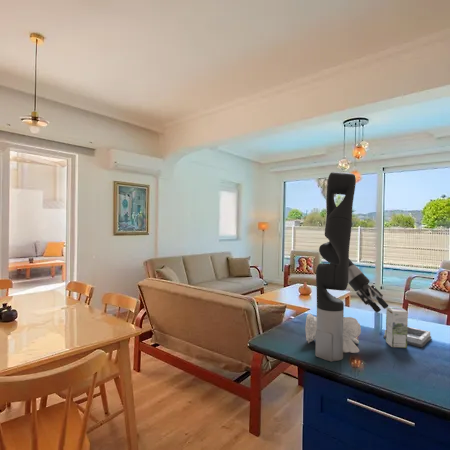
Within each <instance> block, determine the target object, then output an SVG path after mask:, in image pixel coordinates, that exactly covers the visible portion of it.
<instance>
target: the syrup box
mask: <svg viewBox="0 0 450 450" xmlns="http://www.w3.org/2000/svg"><path fill="white" fill-rule="evenodd" d="M385 313H386V317H385V330H386V338H385V343H387V344H388V346H390V347H391V348H394V349H395V348H398V349H407V348H408V344H407V327H409V326H408V324H409V322H408V319H409V312H408V311H407V310H406V309H405V308H402V307H391V306H390V307H389V306H388V307H387V308H386V309H385Z"/></svg>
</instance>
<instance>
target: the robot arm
mask: <svg viewBox="0 0 450 450" xmlns="http://www.w3.org/2000/svg"><path fill="white" fill-rule="evenodd" d="M356 180H357V179H356V175H355V174H354V173H350V172H338V171H336V172H335V171H332V172H330V173H329V175H328V178H327V185H326V216H325V220H326V221H325V226H324V236H325V238H326V239H328V241H327V242H324V243H322V244H320V246H319V248H318V250H319V254H320V256H321V258H322V259H323V260H325V261H326V262H328V263H326V262H325V263H324V262H323V263H322V262H321V263H319V264H318V265H317V267H316V269H315V282H316V283H315V284H316V285H315V286H316V317H317V330H316V339H315V350H314V351H315V357H317V358H319V359H322V360H325V361H327V362H336V361H341V360H343V359H344V352H343V319H344V317H345V314H344V307H345V305H344V304H345V303H344V301H343V300H342V299H341V298H338V297H336V296H333V295H332V294H331V293H330V292H329V291H328V290H332V291H341V292H342V291H345V290H347V287H348V285H349V286H350V287H351V288H352V290H353V291H355V292H356V293H355V294H356V295H357V296H358V297H359V298H360V300H361V301H362V302H363V304H364V305H368V306H370V308H371V309H372V310H373V311H374V312H375V313H377V314H378V313H379V312H380V311H381V310H382V309H381V308H380V307H379V305H380V306H381V307H382V308H383V309H384V310H386V308H387V307H389V304H388V303H387V302H386V301H385V300H384V298H383V297H384V296H383V293H382V292H380V290H378V289H377V287H376V286H375V285H373V284H372V285H371V286H370V285H369V283H370V279H368V277H367V276H366V275H365V274H364V272H363V271H361V269H360V268H359V267H358V266H357V265H355V263H354V262H353V261H352V260H351V259H350V245H351V236H352V235H351V234H352V224H353V205H354V203H353V202H354V198H355V197H354V196H355V191H356V182H357V181H356ZM335 195H341V196H344V197H343V199H342V200H341V202H340V203H339V204H338V205H336V202H335V201H336V200H335ZM374 300H375V301H377V302H378V304H379V305H377V303H376V302H375V301H374Z"/></svg>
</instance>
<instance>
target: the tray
mask: <svg viewBox="0 0 450 450" xmlns="http://www.w3.org/2000/svg"><path fill="white" fill-rule="evenodd" d="M383 339H386V329H385V330H384V334H383ZM431 340H432V336H431V331H429V330H424V329H421V328H415V327H410V326H407V345H411V346H413V347H418V348H423V347H425V346H426V344H428V342H429V341H431Z"/></svg>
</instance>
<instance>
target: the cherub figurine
mask: <svg viewBox="0 0 450 450" xmlns="http://www.w3.org/2000/svg"><path fill="white" fill-rule="evenodd" d="M305 320H306V321H305V328H304V331H305V339H306V342H307V343H308V344H310V343H311V342H314V340H316V330H317V316H315V315H313V314H312V313H308V314H307V315H306V319H305ZM361 327H362V326H361V324H360V322H358V319H356V318H355V317H351V316H344V319H343V353H347V354H348V353H352V354H357V353H359V352H360V349H359V347H358V346H357V344H359V342H360V341H359V340H358V339H357V338H358V337H359V336H360V335H361V334H362V329H361Z"/></svg>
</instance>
